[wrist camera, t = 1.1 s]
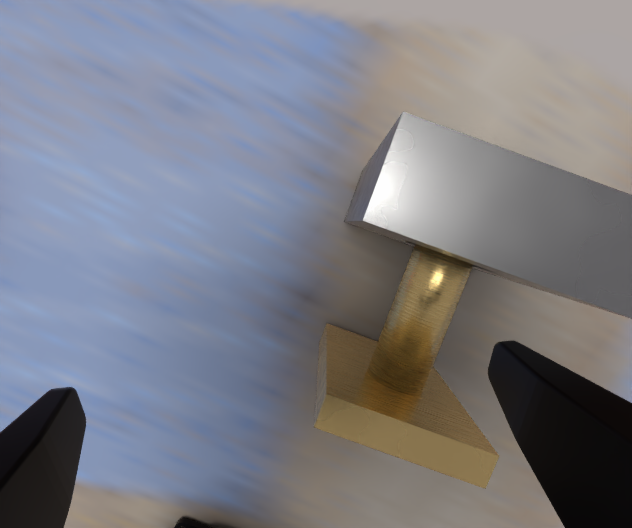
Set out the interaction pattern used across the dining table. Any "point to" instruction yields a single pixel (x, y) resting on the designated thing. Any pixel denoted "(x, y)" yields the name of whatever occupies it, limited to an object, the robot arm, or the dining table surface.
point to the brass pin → (404, 378)
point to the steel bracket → (499, 213)
